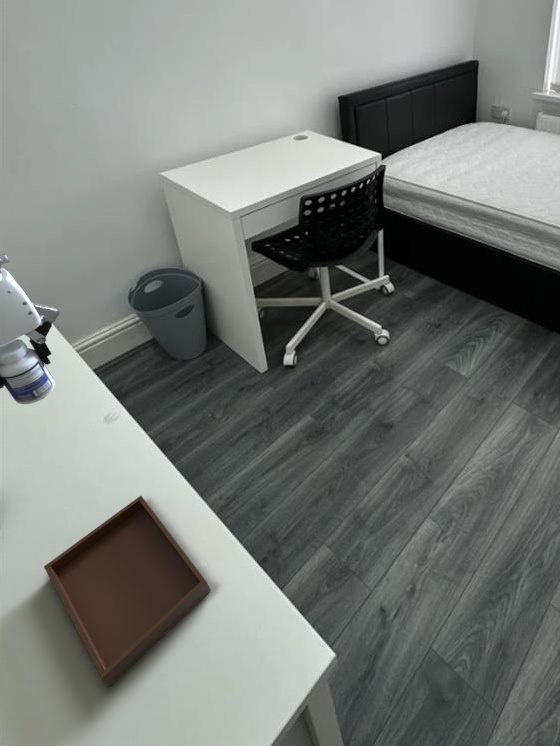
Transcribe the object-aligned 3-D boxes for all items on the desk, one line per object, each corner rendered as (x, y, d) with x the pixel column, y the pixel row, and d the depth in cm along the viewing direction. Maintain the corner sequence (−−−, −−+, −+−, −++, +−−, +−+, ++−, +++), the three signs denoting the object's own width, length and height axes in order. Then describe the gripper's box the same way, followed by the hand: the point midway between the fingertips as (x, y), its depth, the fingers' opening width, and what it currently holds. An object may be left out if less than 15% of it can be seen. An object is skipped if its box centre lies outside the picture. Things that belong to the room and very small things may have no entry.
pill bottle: (18, 386, 78) (-11, 342, 72) (57, 374, 80) (32, 331, 75) (12, 410, 74) (-19, 365, 68) (54, 397, 76) (27, 353, 71)
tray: (51, 576, 68) (43, 566, 66) (146, 504, 76) (141, 495, 75) (110, 686, 58) (102, 678, 56) (211, 590, 66) (206, 581, 65)
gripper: (26, 242, 72) (73, 332, 82) (-132, 297, 61) (-55, 394, 70) (45, 259, 68) (92, 351, 78) (-120, 321, 57) (-40, 420, 67)
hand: (22, 370), depth 74 cm, fingers closed on pill bottle, 5 cm apart
